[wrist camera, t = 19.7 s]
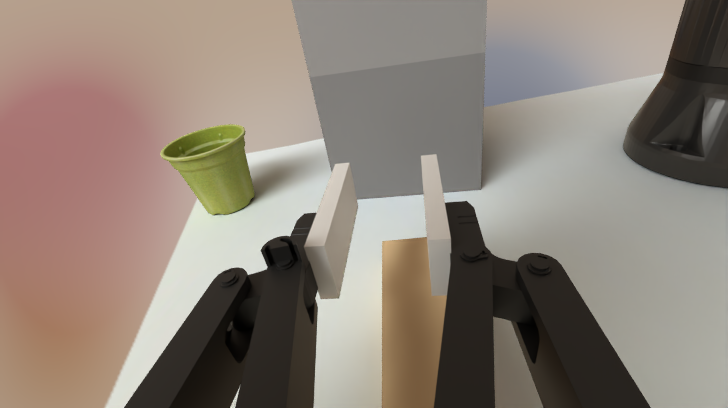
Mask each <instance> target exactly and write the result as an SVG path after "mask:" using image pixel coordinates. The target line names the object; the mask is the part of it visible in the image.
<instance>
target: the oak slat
mask: <svg viewBox="0 0 728 408" xmlns="http://www.w3.org/2000/svg"><path fill="white" fill-rule="evenodd" d="M446 299H447V295H443V296H432V292H431V280H430V268H429V255H428V243H427V237H423V238H413V239H402V240H392V241H382V408H434V401H435V392H436V384H437V375H438V367H439V358H440V350H441V341H442V333H443V324H444V316H445V307H446Z"/></svg>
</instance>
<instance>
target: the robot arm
mask: <svg viewBox="0 0 728 408" xmlns="http://www.w3.org/2000/svg"><path fill="white" fill-rule="evenodd" d="M623 148H624V151H625V152H626V154H627V155H628V156H629V157H630V158H631V159H632V160H634V161H635V162H637V163H638V164H640V165H642V166H644V167H646V168H648V169H650V170H653V171H655V172H658V173H661V174H664V175H667V176H670V177H673V178H677V179H681V180H685V181H689V182H694V183H699V184H705V185H711V186H719V187H727V188H728V0H686V1H685V4H684V7H683V11H682V15H681V17H680V21H679V24H678V28H677V31H676V34H675V38H674V41H673V45H672V48H671V51H670V55H669V58H668V61H667V65H666V68H665V71H664V74H663V76H662V78H661V80H660V81H659V83H658V84H657V86H656V87H655V88H654V90H653V91H652V93H651V94H650V96H649V97H648V98H647V100H646V101H645V103H644V104H643V106H642V107H641V108H640V110H639V111H638V113H637V114H636V116H635V117H634V118H633V120H632V121H631V123H630V125H629V127H628V129H627V133H626V136H625V140H624V144H623ZM421 165H422V179H423V193H424V206H425V218H426V231H427V243H428V255H429V268H430V280H431V292H432V296H443V295H447V299H446V307H445V316H444V324H443V333H442V341H441V350H440V358H439V367H438V375H437V384H436V392H435V401H434V408H495V390H494V338H493V316H494V317H498V318H502V319H506V320H510V321H511V322H512V325H513V327H514V330H515V333H516V335H517V338H518V341H519V343H520V346H521V349H522V351H523V354H524V357H525V359H526V362H527V365H528V367H529V370H530V373H531V375H532V378H533V381H534V383H535V386H536V389H537V391H538V394H539V396H540V399H541V402H542V404H543V407H544V408H651V407H650V406H649V404H648V403H647V401H646V399H645V398H644V396H643V395H642V393H641V391H640V390H639V388H638V387H637V385H636V383H635V382H634V380H633V379H632V377H631V375H630V374H629V372H628V371H627V369H626V367H625V366H624V364H623V363H622V361H621V360H620V358H619V356H618V355H617V353H616V352H615V350H614V348H613V347H612V345H611V344H610V342H609V340H608V339H607V337H606V336H605V334H604V332H603V331H602V329H601V328H600V326H599V324H598V323H597V321H596V320H595V318H594V316H593V315H592V313H591V312H590V310H589V308H588V307H587V305H586V304H585V302H584V300H583V299H582V297H581V296H580V294H579V292H578V291H577V289H576V288H575V286H574V285H573V283H572V281H571V280H570V278H569V277H568V275H567V273H566V272H565V270H564V269H563V267H562V265H561V264H560V263H559V262H558V261H557V260H556V259H554V258H552V257H550V256H548V255H544V254H541V253H530V254H525V255H523V256H522V257H520V258H519V259H518V261H517V262H515V261H510V260H505V259H501V258H498V257H496V256H494V255H493V254H491V252H490V251H489V250H488V249H487V248H486V247H485V244H484V240H483V237H482V234H481V230H480V227H479V223H478V220H477V217H476V213H475V210H474V207H473V206H472V205H470V204H469V203H468V202H467V201H462V202H448V203H445V201H444V196H443V190H442V184H441V178H440V172H439V166H438V161H437V155H436V154H433V155H423V156H421ZM357 209H358V203H357V198H356V193H355V188H354V183H353V178H352V173H351V168H350V163H340V164H335V166H334V168H333V171H332V174H331V176H330V179H329V182H328V184H327V187H326V190H325V192H324V195H323V198H322V200H321V203H320V206H319V208H318V211H317V213H307V214H304V215H303V216H301V217H300V218H299V219H298V220H297V222H296V224H295V227H294V229H293V231H292V233H291V236H290V237H289V236H280V237H277V238H274V239H272V240H270V241H268V242H267V243H266V244H265V245H264V246H263V247H262V249H261V252H262V254H263V257H264V259H265V262H266V264H267V266H268V268H267V270H264V271H261V272H258V273H254V274H250V275H248V274H247V272H246V271H245V270H244V269H243V268H231V269H228V270H226V271H224V272H222V273H220V274H219V275H218V276H217V277H216V278H215V279H214V280H213V281H212V283H211V284H210V286H209V287H208V289H207V290H206V291H205V293H204V294H203V296H202V297H201V298H200V300H199V301H198V303H197V304H196V306H195V307H194V308H193V310H192V311H191V313H190V314H189V316H188V317H187V318H186V320H185V321H184V323H183V324H182V326H181V327H180V328H179V330H178V331H177V333H176V334H175V336H174V337H173V338H172V340H171V341H170V343H169V344H168V346H167V347H166V348H165V350H164V351H163V353H162V354H161V356H160V357H159V358H158V360H157V361H156V363H155V364H154V366H153V367H152V368H151V370H150V371H149V373H148V374H147V376H146V377H145V378H144V380H143V381H142V383H141V384H140V386H139V387H138V388H137V390H136V391H135V393H134V394H133V396H132V397H131V398H130V400H129V401H128V403H127V404H126V406H125V407H124V408H230V406H231V404H232V402H233V400H234V397H235V395H236V393H237V391H238V389H239V387H240V390H239V394H238V398H237V403H236V407H235V408H313V405H314V382H315V358H316V335H317V312H318V307H317V303H316V300H315V297H316V294H317V290H318V292H319V295H320V298H321V299H335V298H339V296H340V291H341V287H342V282H343V277H344V272H345V267H346V263H347V258H348V253H349V248H350V243H351V238H352V234H353V229H354V224H355V219H356V214H357ZM240 384H241V385H240Z"/></svg>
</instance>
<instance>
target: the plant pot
mask: <svg viewBox="0 0 728 408" xmlns="http://www.w3.org/2000/svg"><path fill="white" fill-rule="evenodd" d="M244 135H245V129H244V127H242V126H239V125H233V124H231V125H230V124H229V125H220V126H215V127H209V128H205V129H202V130H198V131H196V132H192V133H190V134H187V135H185V136H182V137H180V138H178V139H176V140H174V141H173V142H171V143H169V144H168V145H167V146H165V147H164V148H163V150H162V151H161V153H160V154H161V157H162V158H163V159H165V160H167V161H169V162H170V163H171V165H172V166H173V167H174V168H175V169H176V170H178V171H179V172H180V174H181V175H182V176H183V178H184V179H185V181H186V182H187V183H188V185H189V186H190V188H191V189H192V190H193V192H194V193H195V195H196V196H197V198H198V199H199V200H200V202H201V203H202V205H203V206H204V208H205V209H206V210H207V212H208V213H210V214H212V215H215V214H217V213H220V214H230V213H233V212H235V211H238V210H240V209H242V208H244V207H245V206H247V205H248V204H249V202H250V200H251V199H252V198H254V196H255V193H254V189H253V185H252V181H251V176H250V172H249V168H248V163H247V159H246V154H245V150H244V146H245V141H244Z"/></svg>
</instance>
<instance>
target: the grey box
mask: <svg viewBox="0 0 728 408" xmlns="http://www.w3.org/2000/svg"><path fill="white" fill-rule="evenodd" d="M292 4H293V8H294V13H295V17H296V21H297V25H298V30H299V34H300V38H301V42H302V47H303V51H304V55H305V60H306V64H307V68H308V73H309V77H310V81H311V85H312V90H313V93H314V98H315V102H316V107H317V111H318V115H319V120H320V123H321V128H322V133H323V137H324V141H325V145H326V150H327V154H328V158H329V163H330V167H331V171H333V168H334V166H335V164H340V163H350V168H351V173H352V178H353V183H354V188H355V193H356V198H357V199H366V198H379V197H391V196H404V195H417V194H424V193H423V179H422V165H421V156H423V155H433V154H436V155H437V161H438V166H439V172H440V178H441V184H442V190H443V192H455V191H468V190H480V189H481V171H482V139H483V107H484V75H485V44H486V12H487V0H292Z"/></svg>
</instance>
